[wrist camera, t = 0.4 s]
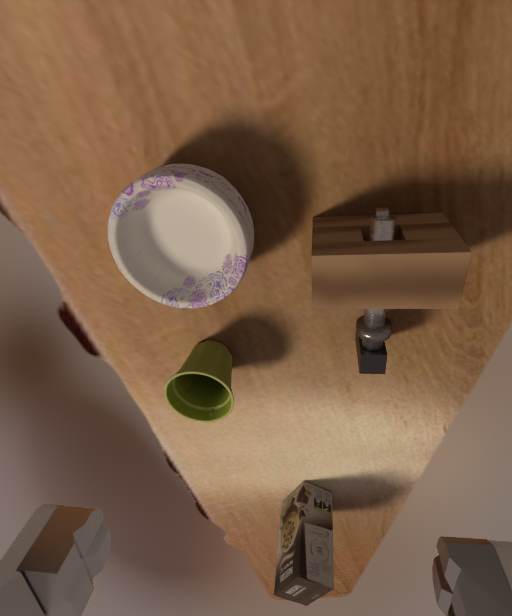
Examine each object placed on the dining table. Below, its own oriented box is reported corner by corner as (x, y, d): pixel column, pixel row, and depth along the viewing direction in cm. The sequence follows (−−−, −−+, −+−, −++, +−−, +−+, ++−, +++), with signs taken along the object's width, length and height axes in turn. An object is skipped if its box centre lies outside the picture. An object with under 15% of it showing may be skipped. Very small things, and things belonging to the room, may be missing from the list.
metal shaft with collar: (358, 198, 44) (364, 221, 38) (397, 197, 43) (408, 220, 37) (351, 340, 54) (355, 373, 49) (382, 340, 53) (389, 374, 48)
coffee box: (302, 479, 73) (298, 576, 60) (333, 492, 74) (336, 590, 61) (280, 502, 78) (272, 595, 65) (308, 513, 79) (306, 608, 66)
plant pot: (252, 342, 57) (242, 386, 50) (234, 386, 62) (223, 430, 55) (189, 322, 56) (171, 362, 49) (177, 367, 62) (158, 410, 55)
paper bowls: (175, 124, 42) (149, 139, 36) (284, 216, 46) (278, 245, 40) (112, 226, 50) (81, 254, 43) (210, 297, 54) (195, 332, 47)
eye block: (313, 217, 46) (311, 255, 37) (442, 212, 43) (471, 252, 35) (313, 264, 49) (312, 309, 41) (434, 261, 47) (458, 308, 38)
